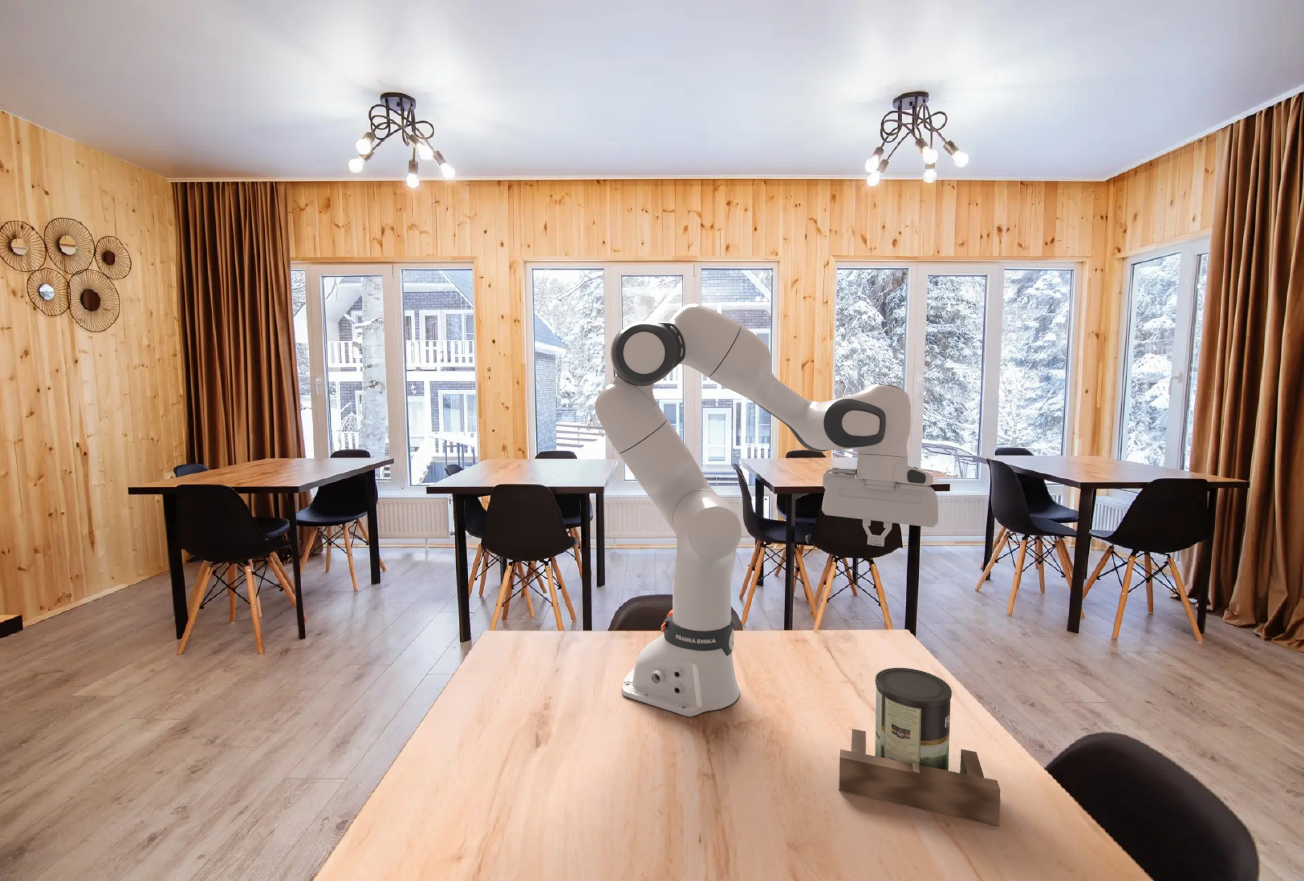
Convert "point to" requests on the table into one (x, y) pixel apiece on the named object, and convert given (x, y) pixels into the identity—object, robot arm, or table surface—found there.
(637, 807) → the table surface
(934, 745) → the coffee can
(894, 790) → the walnut rail
